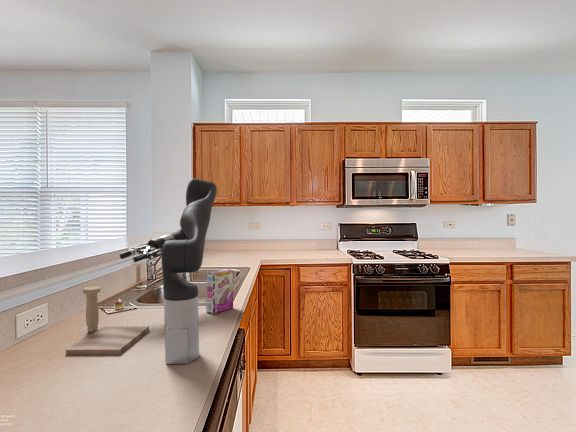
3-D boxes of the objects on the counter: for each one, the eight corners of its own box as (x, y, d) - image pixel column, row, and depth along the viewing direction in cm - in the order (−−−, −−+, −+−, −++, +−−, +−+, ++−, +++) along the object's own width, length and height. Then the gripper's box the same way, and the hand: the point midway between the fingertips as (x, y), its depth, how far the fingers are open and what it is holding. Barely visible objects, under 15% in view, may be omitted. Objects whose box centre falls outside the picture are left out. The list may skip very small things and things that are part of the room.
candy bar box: (214, 314, 138) (213, 273, 138) (205, 312, 141) (205, 272, 141) (234, 308, 147) (233, 269, 147) (226, 306, 150) (225, 268, 150)
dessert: (99, 309, 149) (99, 298, 149) (128, 304, 157) (128, 293, 157) (107, 315, 140) (107, 304, 140) (138, 309, 149) (138, 298, 148)
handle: (95, 327, 125) (94, 285, 125) (104, 330, 121) (103, 287, 121) (81, 331, 121) (80, 288, 121) (89, 334, 117) (88, 290, 117)
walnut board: (119, 354, 101) (119, 349, 101) (65, 354, 101) (65, 349, 101) (149, 330, 121) (149, 326, 121) (103, 330, 121) (103, 326, 121)
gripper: (149, 234, 147) (114, 246, 134) (172, 238, 140) (137, 251, 126) (152, 251, 149) (117, 264, 136) (175, 256, 142) (140, 270, 128)
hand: (127, 258), depth 131 cm, fingers open, 8 cm apart
